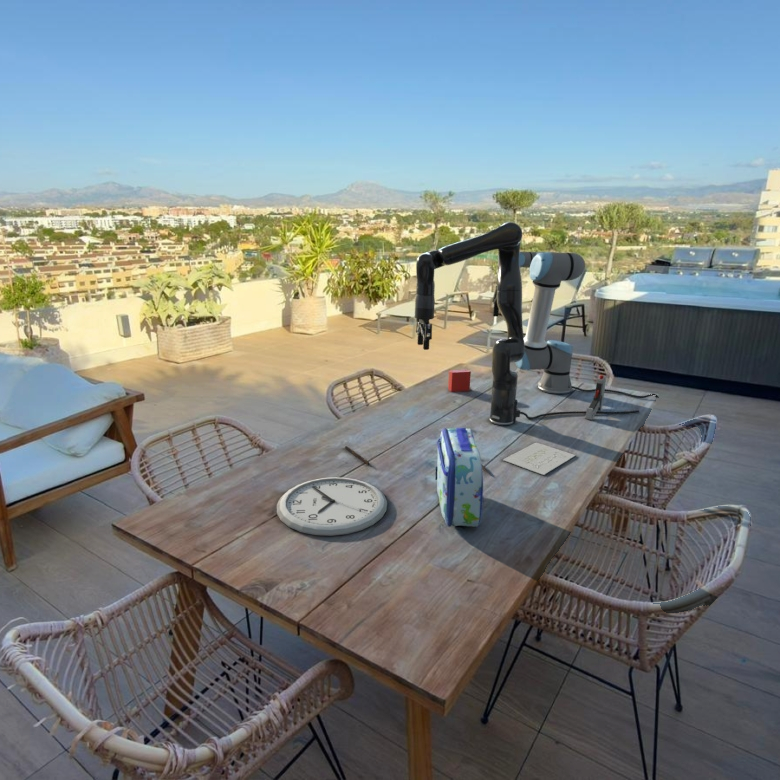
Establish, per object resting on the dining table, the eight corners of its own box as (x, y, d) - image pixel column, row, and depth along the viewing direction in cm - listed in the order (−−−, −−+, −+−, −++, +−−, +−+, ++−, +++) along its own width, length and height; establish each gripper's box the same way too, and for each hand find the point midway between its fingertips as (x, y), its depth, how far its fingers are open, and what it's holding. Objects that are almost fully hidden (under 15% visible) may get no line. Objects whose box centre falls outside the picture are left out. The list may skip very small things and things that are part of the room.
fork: (483, 474, 162) (483, 469, 161) (463, 454, 176) (463, 448, 176) (491, 474, 162) (491, 468, 162) (470, 453, 177) (470, 447, 176)
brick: (448, 389, 247) (449, 370, 244) (466, 388, 249) (467, 369, 246) (451, 391, 243) (452, 372, 240) (469, 390, 245) (470, 371, 243)
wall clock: (392, 527, 129) (268, 531, 127) (391, 533, 130) (269, 537, 127) (383, 473, 158) (282, 475, 155) (383, 478, 158) (282, 480, 156)
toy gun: (589, 383, 206) (600, 373, 217) (585, 421, 211) (596, 408, 223) (595, 384, 204) (606, 374, 215) (590, 422, 210) (602, 410, 221)
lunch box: (433, 484, 155) (436, 418, 148) (469, 485, 155) (474, 419, 148) (440, 534, 130) (444, 457, 124) (483, 535, 130) (489, 458, 124)
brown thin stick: (344, 448, 179) (344, 445, 179) (346, 448, 179) (346, 445, 179) (367, 464, 167) (367, 462, 167) (368, 464, 167) (368, 461, 167)
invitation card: (535, 442, 186) (575, 454, 176) (535, 442, 187) (575, 455, 176) (502, 459, 172) (543, 474, 162) (502, 460, 172) (543, 475, 162)
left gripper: (410, 303, 208) (409, 343, 213) (420, 309, 195) (418, 351, 200) (428, 303, 210) (427, 343, 215) (439, 308, 196) (437, 350, 201)
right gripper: (487, 275, 281) (484, 314, 287) (508, 279, 258) (504, 322, 264) (500, 275, 283) (497, 314, 289) (522, 279, 259) (518, 322, 266)
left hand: (423, 347), depth 207 cm, fingers open, 8 cm apart
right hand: (501, 318), depth 277 cm, fingers open, 13 cm apart
